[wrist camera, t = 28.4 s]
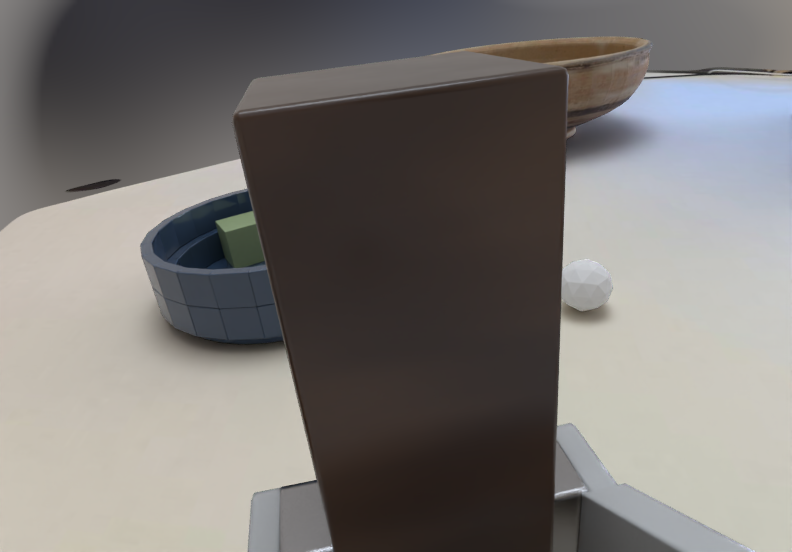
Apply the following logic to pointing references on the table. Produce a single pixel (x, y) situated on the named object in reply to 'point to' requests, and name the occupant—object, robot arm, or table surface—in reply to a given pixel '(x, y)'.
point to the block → (240, 240)
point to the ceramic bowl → (585, 69)
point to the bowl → (209, 277)
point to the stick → (419, 290)
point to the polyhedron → (585, 285)
